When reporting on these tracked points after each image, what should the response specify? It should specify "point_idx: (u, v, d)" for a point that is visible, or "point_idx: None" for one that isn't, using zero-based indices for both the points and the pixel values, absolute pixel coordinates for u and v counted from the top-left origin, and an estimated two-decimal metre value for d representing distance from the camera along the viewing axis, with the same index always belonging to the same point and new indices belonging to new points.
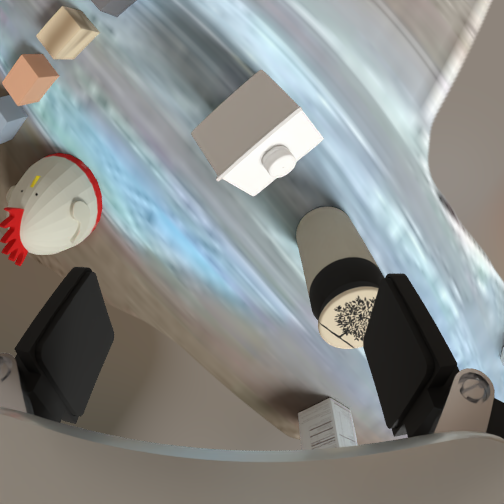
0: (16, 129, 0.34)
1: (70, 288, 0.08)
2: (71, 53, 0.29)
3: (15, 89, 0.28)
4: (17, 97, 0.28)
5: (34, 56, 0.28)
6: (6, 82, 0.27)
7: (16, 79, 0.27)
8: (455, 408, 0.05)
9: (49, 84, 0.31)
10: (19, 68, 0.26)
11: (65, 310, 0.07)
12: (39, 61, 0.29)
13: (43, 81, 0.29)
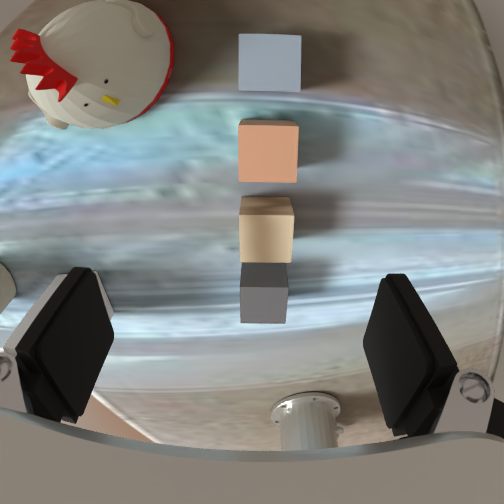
0: None
1: (70, 288, 0.08)
2: None
3: (264, 138, 0.26)
4: (249, 133, 0.25)
5: None
6: (291, 133, 0.25)
7: (274, 150, 0.26)
8: (455, 408, 0.05)
9: None
10: (282, 166, 0.27)
11: (65, 310, 0.07)
12: None
13: None
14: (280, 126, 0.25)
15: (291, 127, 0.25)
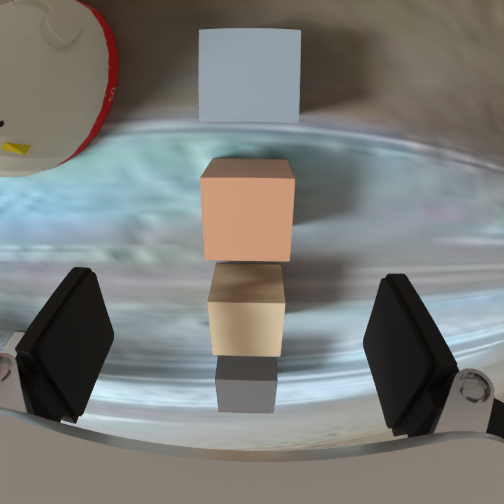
0: None
1: (70, 288, 0.08)
2: None
3: (240, 198, 0.17)
4: (218, 191, 0.17)
5: None
6: (283, 189, 0.17)
7: (256, 215, 0.18)
8: (455, 408, 0.05)
9: None
10: (269, 238, 0.18)
11: (65, 310, 0.07)
12: None
13: None
14: (266, 178, 0.17)
15: (283, 180, 0.17)
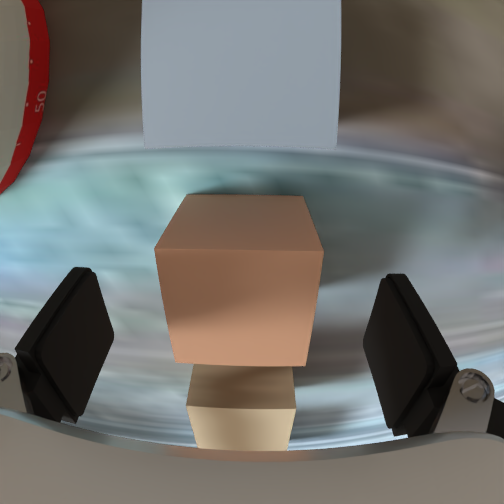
0: None
1: (70, 288, 0.08)
2: None
3: (225, 282, 0.10)
4: (187, 270, 0.10)
5: None
6: (301, 269, 0.10)
7: (253, 309, 0.10)
8: (455, 408, 0.05)
9: None
10: (275, 339, 0.11)
11: (65, 310, 0.07)
12: None
13: None
14: (271, 251, 0.09)
15: (302, 254, 0.09)
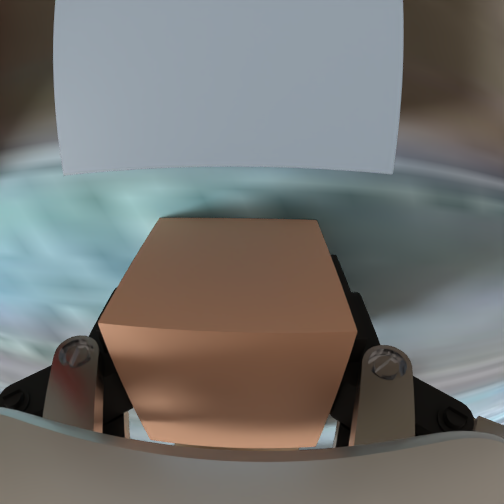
0: None
1: None
2: None
3: (207, 370, 0.06)
4: (149, 353, 0.06)
5: None
6: (321, 354, 0.06)
7: (248, 398, 0.07)
8: (372, 391, 0.06)
9: None
10: (278, 426, 0.07)
11: None
12: None
13: None
14: (276, 333, 0.06)
15: (325, 336, 0.06)
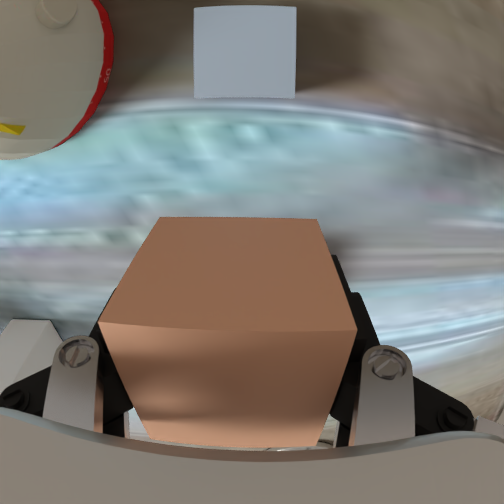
0: None
1: None
2: None
3: (207, 369, 0.06)
4: (149, 352, 0.06)
5: None
6: (321, 352, 0.06)
7: (248, 397, 0.07)
8: (372, 391, 0.06)
9: None
10: (278, 425, 0.07)
11: None
12: None
13: None
14: (276, 331, 0.06)
15: (325, 335, 0.06)
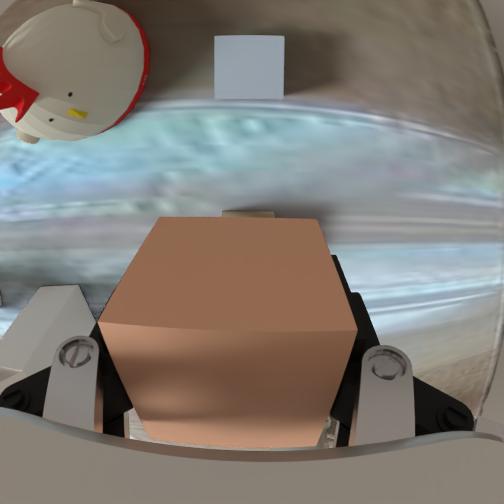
0: None
1: None
2: None
3: (206, 369, 0.06)
4: (148, 352, 0.06)
5: None
6: (321, 353, 0.06)
7: (248, 398, 0.07)
8: (372, 391, 0.06)
9: None
10: (278, 425, 0.07)
11: None
12: None
13: None
14: (276, 331, 0.06)
15: (325, 335, 0.06)
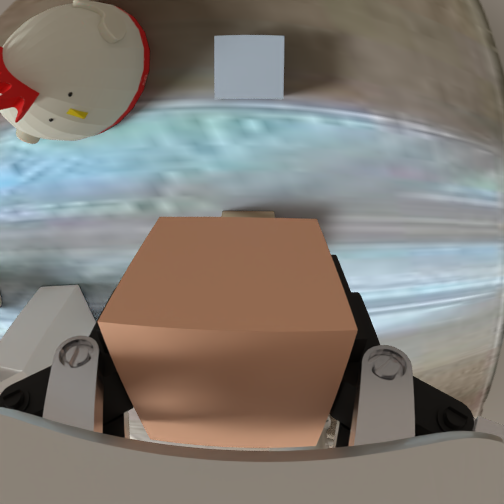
0: None
1: None
2: None
3: (206, 369, 0.06)
4: (148, 352, 0.06)
5: None
6: (321, 353, 0.06)
7: (248, 398, 0.07)
8: (372, 391, 0.06)
9: None
10: (278, 425, 0.07)
11: None
12: None
13: None
14: (276, 331, 0.06)
15: (325, 335, 0.06)
